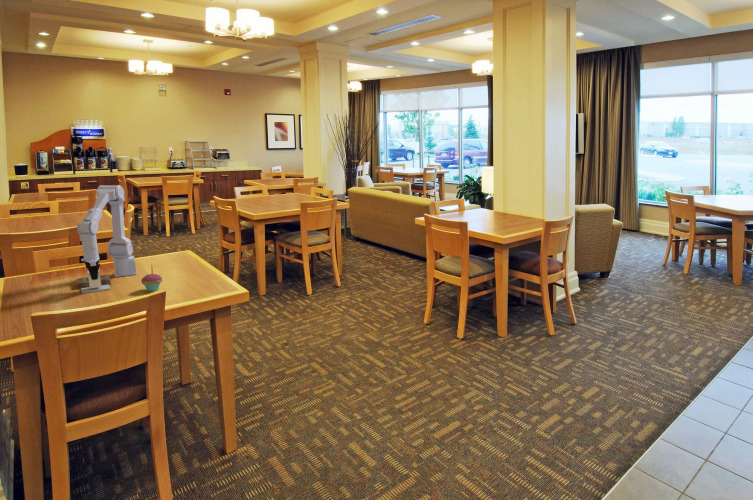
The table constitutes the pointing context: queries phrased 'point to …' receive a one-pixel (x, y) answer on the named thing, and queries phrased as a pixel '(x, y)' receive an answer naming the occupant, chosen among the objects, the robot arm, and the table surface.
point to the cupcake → (152, 281)
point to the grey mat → (95, 289)
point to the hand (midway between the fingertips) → (94, 278)
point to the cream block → (94, 281)
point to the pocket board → (85, 281)
